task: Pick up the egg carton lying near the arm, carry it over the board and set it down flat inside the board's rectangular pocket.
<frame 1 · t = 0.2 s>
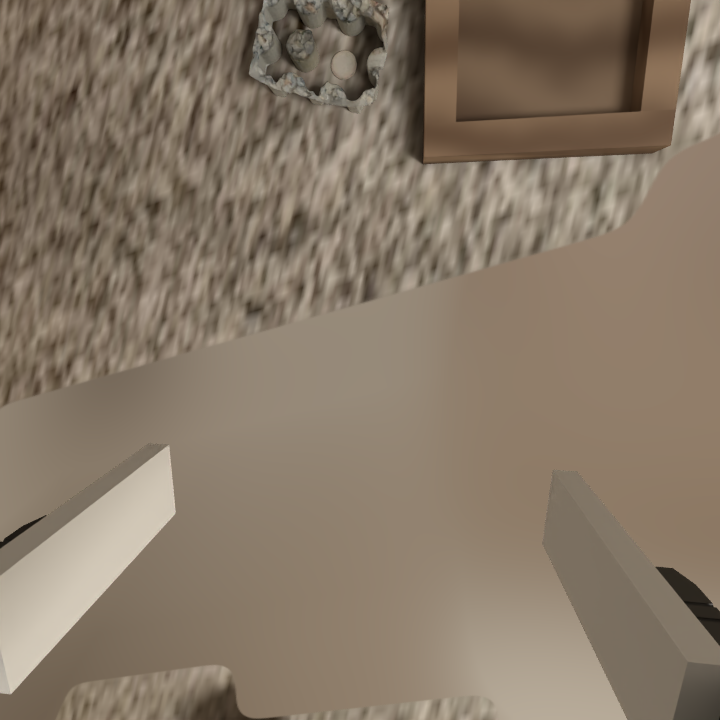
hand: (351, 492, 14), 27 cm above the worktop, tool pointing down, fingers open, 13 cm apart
egg carton: (325, 66, 36), on the worktop
pocket board: (542, 45, 34), on the worktop
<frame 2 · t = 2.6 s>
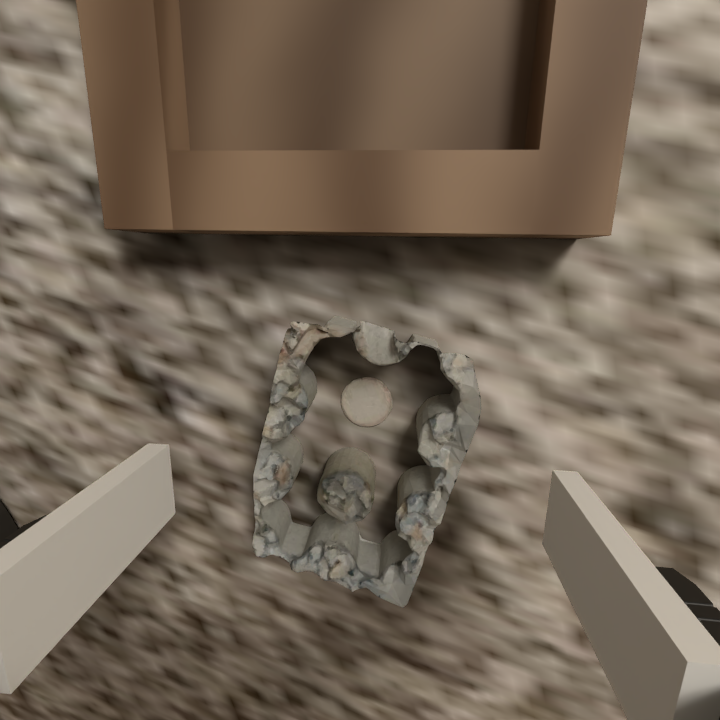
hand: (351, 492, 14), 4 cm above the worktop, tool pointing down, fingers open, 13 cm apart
egg carton: (363, 433, 19), on the worktop
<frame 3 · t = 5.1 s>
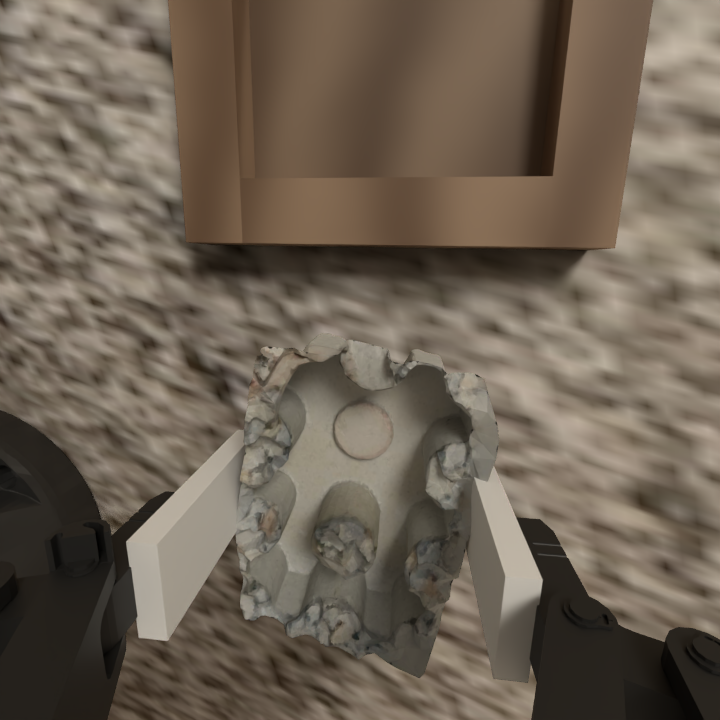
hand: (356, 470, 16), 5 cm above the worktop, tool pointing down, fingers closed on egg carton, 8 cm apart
egg carton: (362, 467, 16), point 5 cm above the worktop, touching gripper
pocket board: (398, 3, 17), on the worktop
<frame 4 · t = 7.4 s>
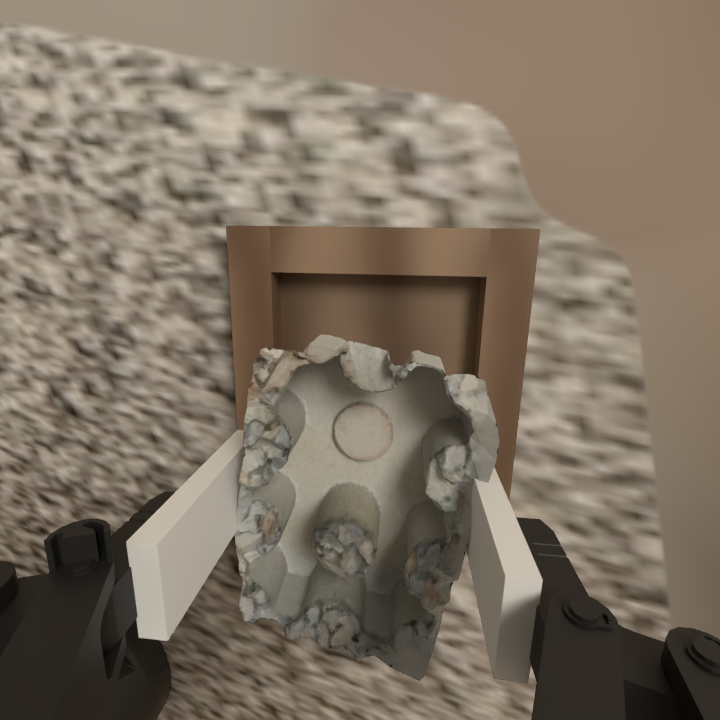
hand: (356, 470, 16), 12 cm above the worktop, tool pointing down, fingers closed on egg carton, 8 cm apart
egg carton: (362, 468, 16), point 11 cm above the worktop, touching gripper
pocket board: (375, 382, 27), on the worktop
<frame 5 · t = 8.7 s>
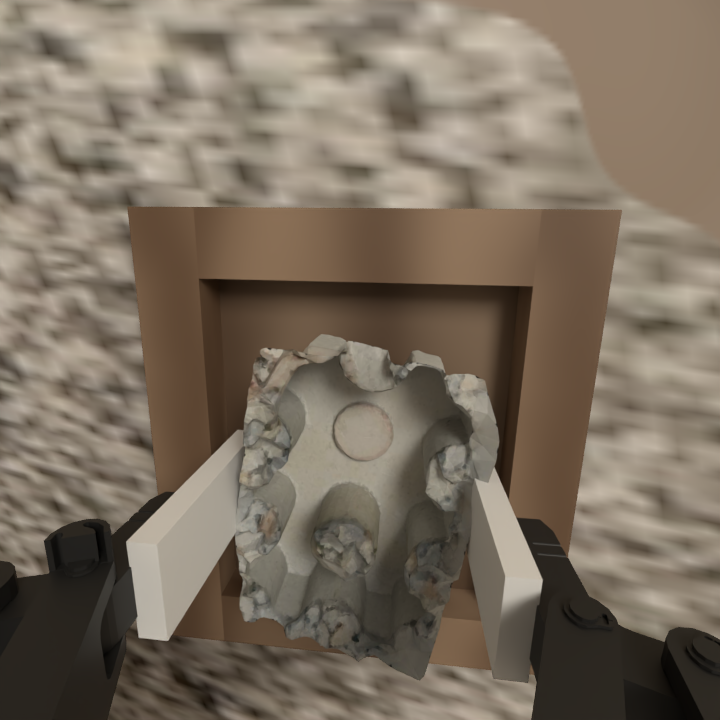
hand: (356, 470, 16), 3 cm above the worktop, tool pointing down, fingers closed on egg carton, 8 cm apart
egg carton: (362, 468, 16), point 3 cm above the worktop, touching gripper
pocket board: (362, 435, 19), on the worktop
when the fingers open (2 cm above the worktop, at t = 9.8 s): egg carton moves 1 cm, resting on pocket board.
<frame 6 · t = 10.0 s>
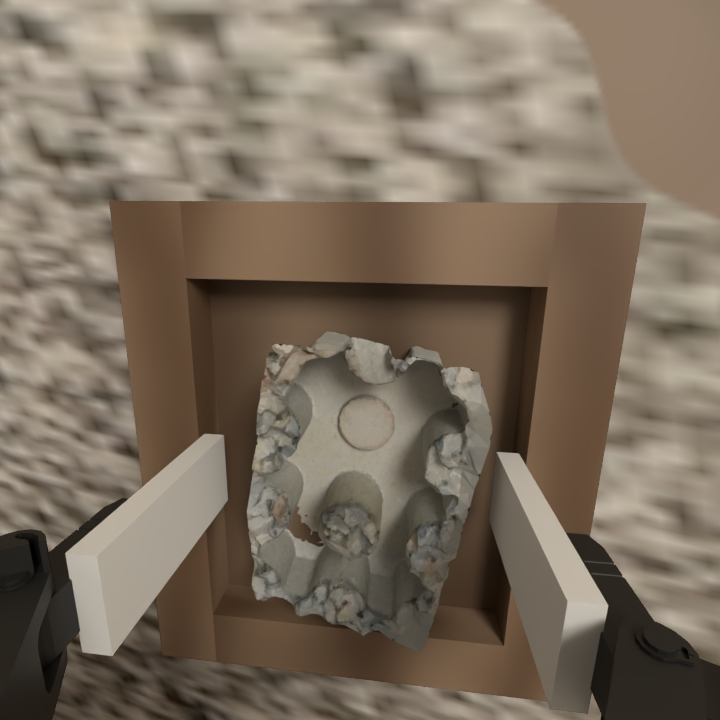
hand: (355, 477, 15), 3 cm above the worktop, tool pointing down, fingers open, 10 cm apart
egg carton: (366, 457, 17), point 1 cm above the worktop, touching pocket board
pocket board: (362, 445, 18), on the worktop
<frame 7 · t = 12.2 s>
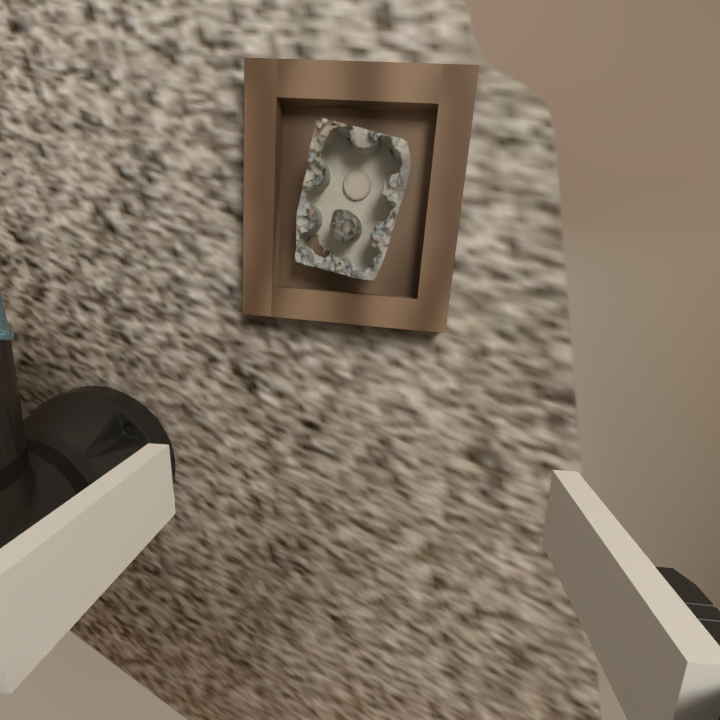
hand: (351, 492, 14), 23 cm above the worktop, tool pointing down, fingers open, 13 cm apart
egg carton: (355, 208, 34), point 1 cm above the worktop, touching pocket board
pocket board: (353, 205, 34), on the worktop
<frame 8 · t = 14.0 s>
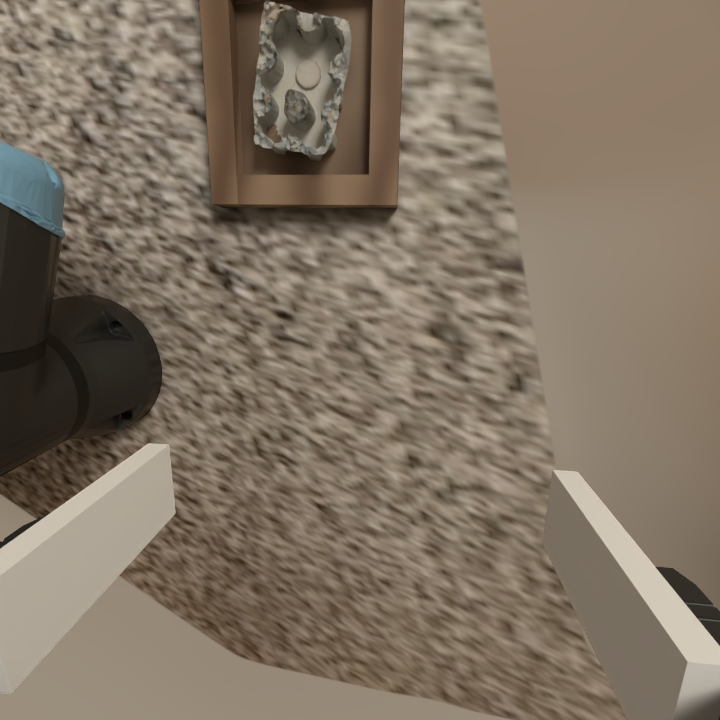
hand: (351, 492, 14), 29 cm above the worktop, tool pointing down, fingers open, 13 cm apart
egg carton: (308, 97, 37), point 1 cm above the worktop, touching pocket board
pocket board: (307, 97, 38), on the worktop
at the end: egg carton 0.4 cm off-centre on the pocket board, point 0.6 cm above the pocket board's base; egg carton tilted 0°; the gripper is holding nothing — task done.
